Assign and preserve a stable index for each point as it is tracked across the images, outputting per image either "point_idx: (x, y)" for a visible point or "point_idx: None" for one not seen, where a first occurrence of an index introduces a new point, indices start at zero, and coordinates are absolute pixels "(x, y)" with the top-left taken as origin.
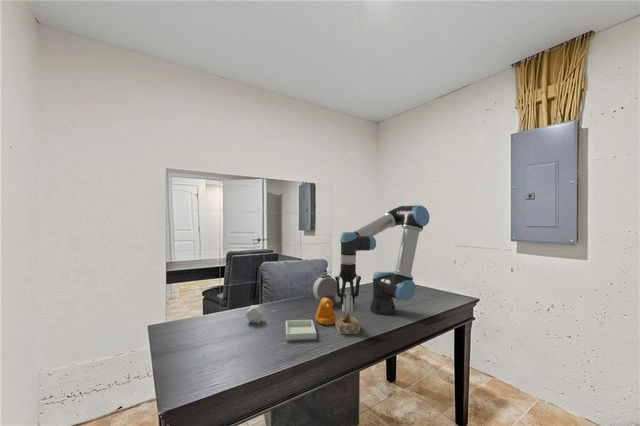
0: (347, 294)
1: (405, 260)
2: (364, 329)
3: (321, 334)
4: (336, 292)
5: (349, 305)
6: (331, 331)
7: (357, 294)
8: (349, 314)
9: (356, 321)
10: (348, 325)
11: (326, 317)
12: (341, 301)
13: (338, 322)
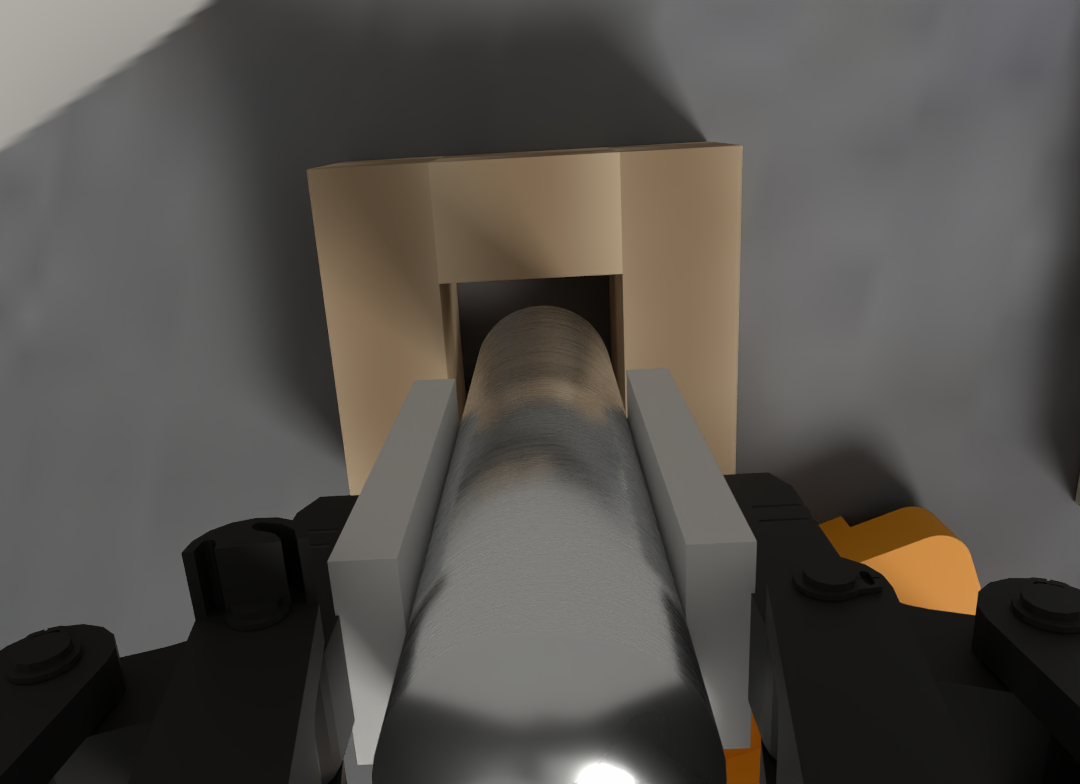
0: (589, 641)
1: None
2: (239, 314)
3: (1018, 147)
4: None
5: (491, 428)
6: (818, 261)
7: (10, 689)
8: (498, 353)
9: (351, 348)
10: (553, 155)
11: None
12: (790, 516)
13: (727, 314)
